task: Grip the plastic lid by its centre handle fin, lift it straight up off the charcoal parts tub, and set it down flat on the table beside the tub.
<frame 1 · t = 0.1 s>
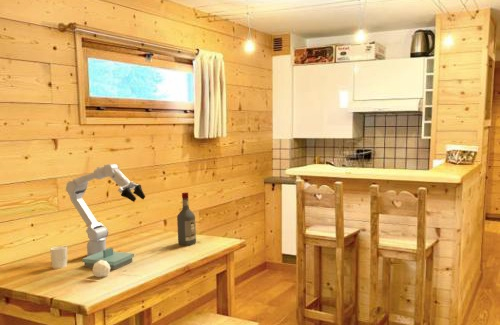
hand: (139, 199, 233), 32 cm above the table, tool tilted 50°, fingers open, 7 cm apart
metal part A: (101, 264, 230), point 1 cm above the table, touching tub
white cup: (59, 268, 228), on the table
liquor: (187, 243, 269), on the table
metal part B: (118, 263, 230), point 1 cm above the table, touching tub
tub: (108, 265, 229), on the table
ball: (101, 277, 211), on the table
lid: (108, 259, 229), point 3 cm above the table, touching tub
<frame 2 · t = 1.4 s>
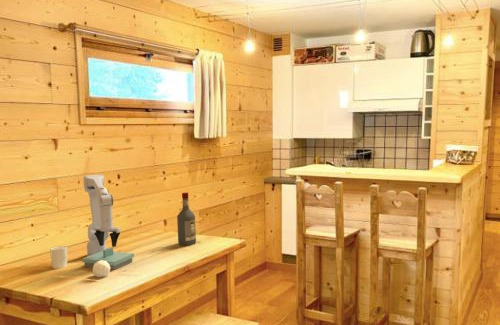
hand: (107, 246, 229), 10 cm above the table, tool pointing down, fingers open, 7 cm apart
nothing on the table moved.
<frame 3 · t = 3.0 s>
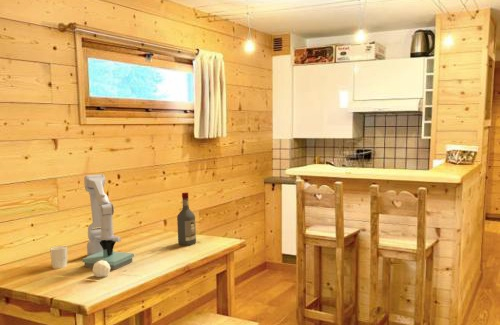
hand: (108, 255, 229), 5 cm above the table, tool pointing down, fingers closed on lid
lid: (108, 259, 229), point 3 cm above the table, touching gripper, tub
everything else where it was.
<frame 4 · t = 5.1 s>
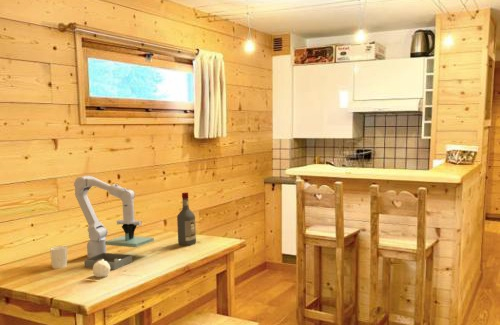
hand: (129, 238, 242), 10 cm above the table, tool pointing down, fingers closed on lid
lid: (129, 243, 242), point 8 cm above the table, touching gripper
everything else where it was.
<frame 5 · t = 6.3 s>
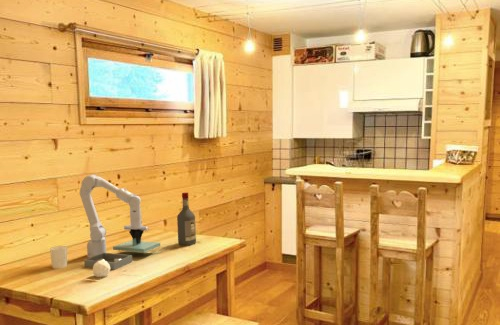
hand: (137, 243, 247), 6 cm above the table, tool pointing down, fingers closed on lid
lid: (137, 247, 247), point 4 cm above the table, touching gripper
everything else where it was.
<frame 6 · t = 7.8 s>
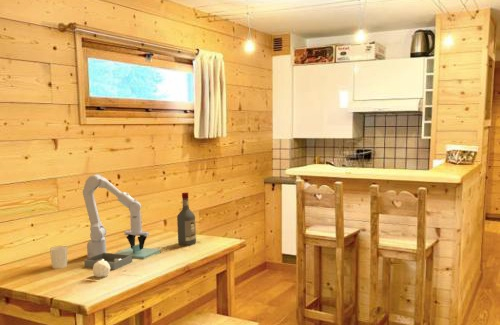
hand: (137, 248, 248), 3 cm above the table, tool pointing down, fingers open, 5 cm apart
lid: (137, 254, 248), on the table
everything else where it was.
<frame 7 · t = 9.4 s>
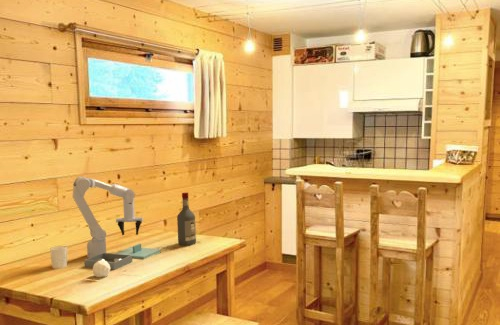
hand: (130, 234, 255), 9 cm above the table, tool pointing down, fingers open, 7 cm apart
nothing on the table moved.
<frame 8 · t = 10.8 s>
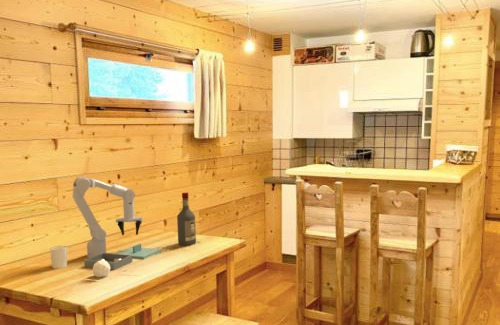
hand: (130, 234, 255), 9 cm above the table, tool pointing down, fingers open, 7 cm apart
nothing on the table moved.
at the end: lid inside the target area (0.2 cm from its centre), on the table; lid tilted 0°; the gripper is holding nothing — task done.
